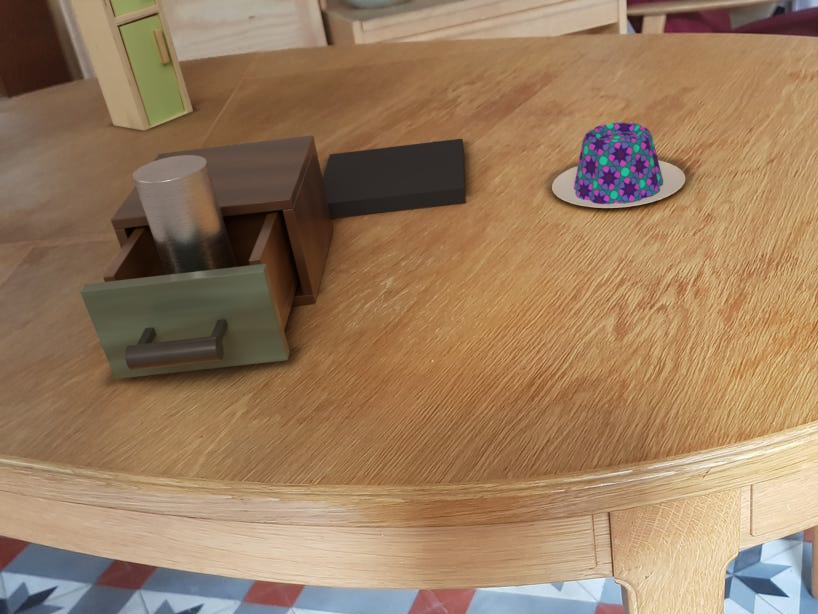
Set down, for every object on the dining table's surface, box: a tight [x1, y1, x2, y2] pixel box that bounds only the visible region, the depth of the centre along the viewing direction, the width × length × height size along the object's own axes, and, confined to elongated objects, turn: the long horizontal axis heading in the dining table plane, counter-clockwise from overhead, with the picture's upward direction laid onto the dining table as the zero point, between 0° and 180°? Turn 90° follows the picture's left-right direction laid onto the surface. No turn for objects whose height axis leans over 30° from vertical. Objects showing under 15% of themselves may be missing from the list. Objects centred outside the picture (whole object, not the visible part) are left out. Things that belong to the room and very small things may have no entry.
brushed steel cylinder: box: [132, 155, 237, 275], centre depth 68 cm, size 5×5×11 cm
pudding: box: [551, 122, 686, 209], centre depth 85 cm, size 12×12×5 cm
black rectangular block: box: [322, 138, 467, 219], centre depth 93 cm, size 14×14×2 cm
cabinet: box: [110, 134, 334, 307], centre depth 78 cm, size 15×14×9 cm
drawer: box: [80, 210, 299, 380], centre depth 68 cm, size 18×12×7 cm
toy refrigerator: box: [69, 0, 194, 131], centre depth 114 cm, size 8×7×21 cm
